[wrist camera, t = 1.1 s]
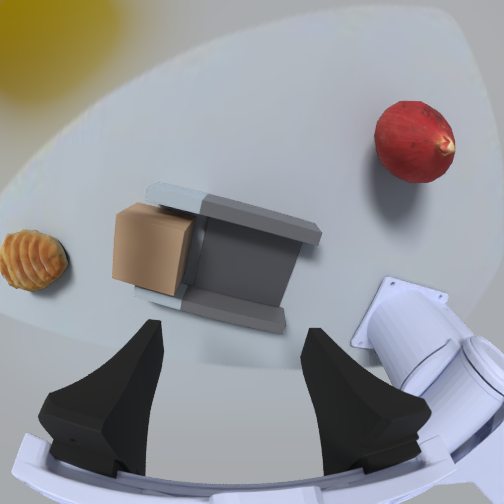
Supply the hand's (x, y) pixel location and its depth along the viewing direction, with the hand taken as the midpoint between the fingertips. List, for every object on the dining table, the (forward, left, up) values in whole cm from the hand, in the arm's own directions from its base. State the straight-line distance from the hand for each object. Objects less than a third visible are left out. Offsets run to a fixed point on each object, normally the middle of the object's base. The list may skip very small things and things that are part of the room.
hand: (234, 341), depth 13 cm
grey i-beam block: (+1, 0, -10) cm, 10 cm away
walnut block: (+7, 0, -10) cm, 12 cm away
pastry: (+22, +6, -11) cm, 25 cm away
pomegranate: (-9, -13, -10) cm, 19 cm away
